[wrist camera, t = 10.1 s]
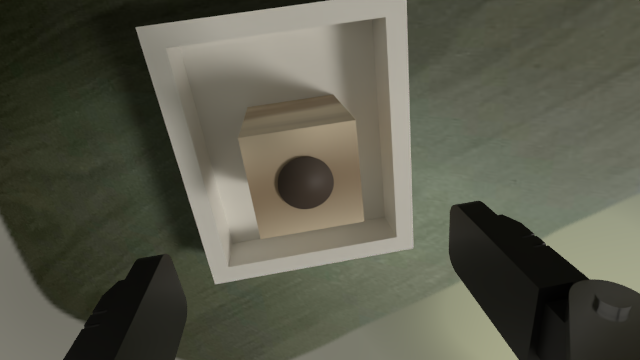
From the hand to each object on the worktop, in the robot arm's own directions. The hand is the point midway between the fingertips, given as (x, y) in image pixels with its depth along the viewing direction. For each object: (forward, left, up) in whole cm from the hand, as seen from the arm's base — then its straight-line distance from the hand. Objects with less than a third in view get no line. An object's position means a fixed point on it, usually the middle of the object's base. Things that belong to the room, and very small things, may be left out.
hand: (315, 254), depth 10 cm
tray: (0, 0, -12) cm, 12 cm away
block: (0, 0, -12) cm, 12 cm away
